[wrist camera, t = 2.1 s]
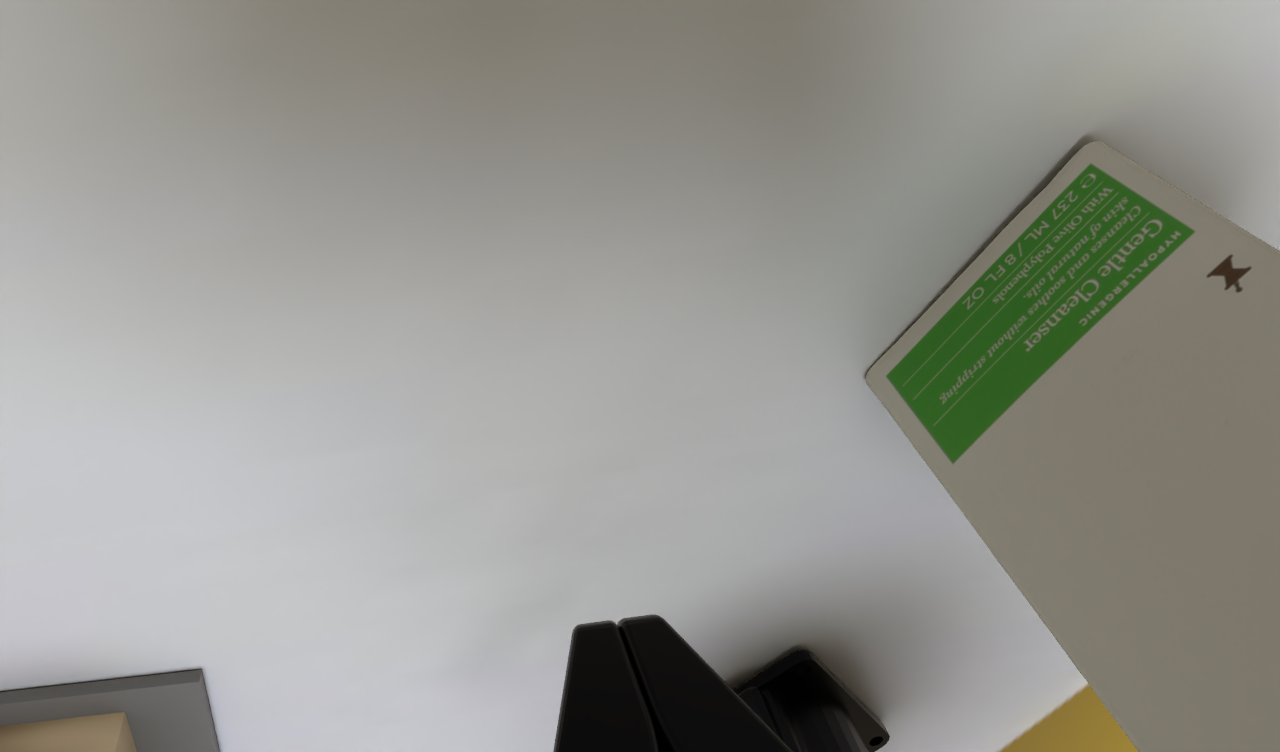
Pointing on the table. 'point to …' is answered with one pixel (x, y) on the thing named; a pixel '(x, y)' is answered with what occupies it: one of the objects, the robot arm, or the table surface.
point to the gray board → (127, 708)
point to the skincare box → (1120, 442)
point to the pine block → (70, 735)
